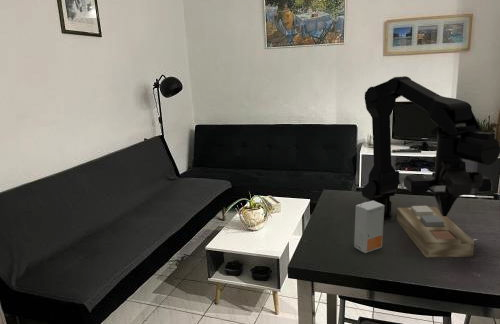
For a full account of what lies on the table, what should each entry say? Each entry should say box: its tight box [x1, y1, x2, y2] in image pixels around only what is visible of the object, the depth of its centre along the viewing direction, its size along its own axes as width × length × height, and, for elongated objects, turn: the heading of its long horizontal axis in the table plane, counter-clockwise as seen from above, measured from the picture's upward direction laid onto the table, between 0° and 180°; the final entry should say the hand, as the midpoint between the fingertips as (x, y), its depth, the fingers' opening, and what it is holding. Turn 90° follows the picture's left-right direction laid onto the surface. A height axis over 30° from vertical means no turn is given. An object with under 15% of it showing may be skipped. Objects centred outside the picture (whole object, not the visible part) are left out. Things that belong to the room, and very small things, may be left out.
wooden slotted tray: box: [396, 206, 475, 258], centre depth 102 cm, size 11×22×4 cm, turn 177°
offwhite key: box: [410, 205, 433, 216], centre depth 108 cm, size 4×4×2 cm
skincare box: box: [353, 201, 385, 254], centre depth 97 cm, size 6×4×12 cm
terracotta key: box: [431, 231, 456, 239], centre depth 95 cm, size 4×4×2 cm
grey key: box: [420, 215, 444, 227], centre depth 101 cm, size 4×4×2 cm
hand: (443, 215), depth 94 cm, fingers closed
